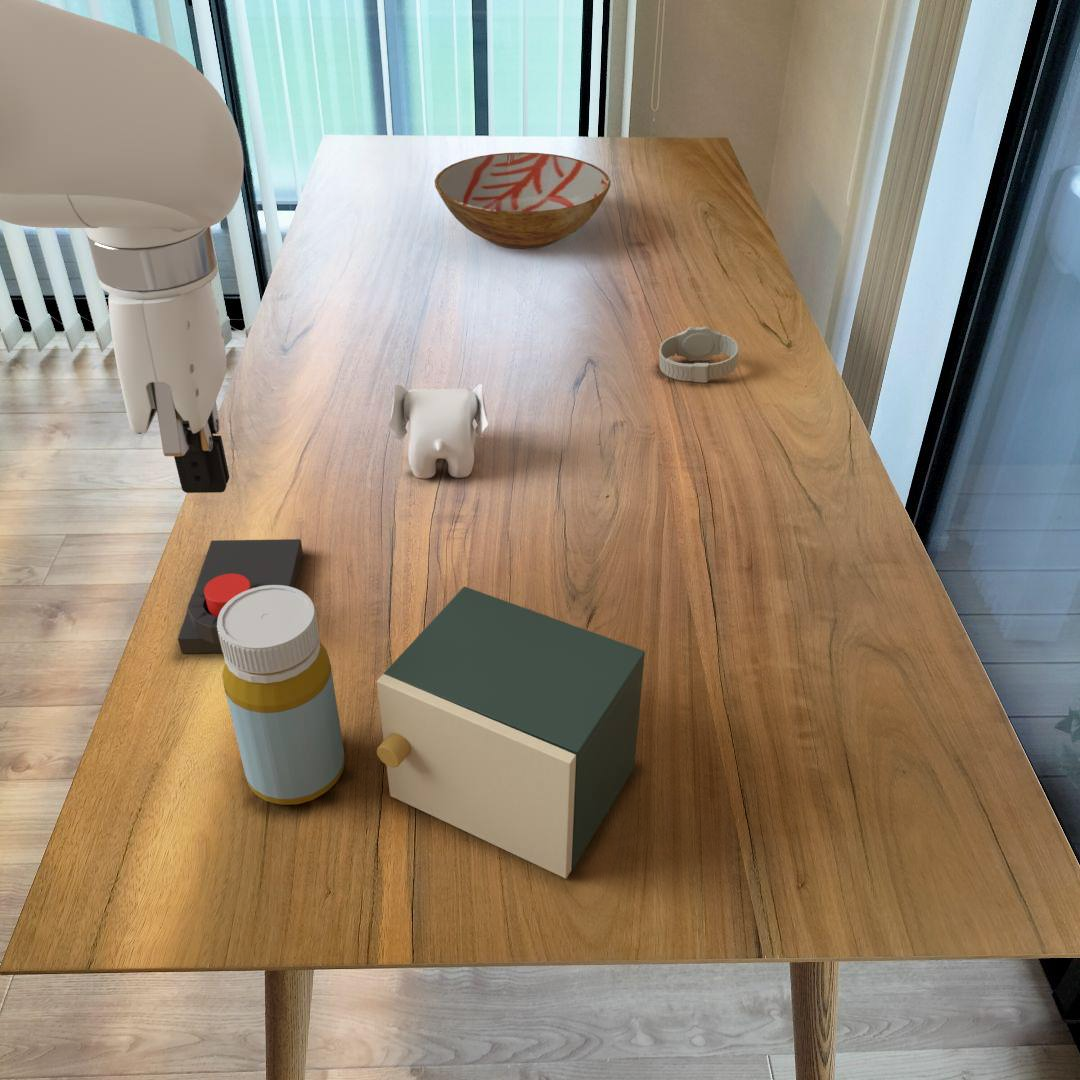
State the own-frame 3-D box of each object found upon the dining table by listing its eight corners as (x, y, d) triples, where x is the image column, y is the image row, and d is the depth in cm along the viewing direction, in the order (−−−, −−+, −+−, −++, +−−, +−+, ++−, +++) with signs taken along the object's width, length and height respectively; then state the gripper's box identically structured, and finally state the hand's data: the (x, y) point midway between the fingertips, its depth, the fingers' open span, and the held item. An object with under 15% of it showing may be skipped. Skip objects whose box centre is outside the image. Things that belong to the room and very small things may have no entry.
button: (249, 618, 86) (245, 601, 85) (203, 619, 86) (199, 602, 85) (256, 589, 89) (253, 573, 88) (212, 590, 89) (209, 573, 88)
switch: (279, 658, 87) (273, 626, 85) (179, 660, 87) (170, 628, 85) (303, 553, 98) (298, 522, 96) (214, 555, 98) (207, 523, 96)
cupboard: (572, 870, 71) (577, 752, 64) (396, 790, 76) (383, 673, 69) (634, 767, 78) (645, 650, 71) (469, 701, 84) (464, 585, 76)
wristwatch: (735, 361, 128) (740, 322, 125) (737, 387, 123) (742, 347, 120) (657, 357, 129) (661, 318, 126) (657, 383, 124) (660, 343, 121)
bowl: (628, 261, 151) (631, 205, 146) (450, 275, 147) (448, 218, 142) (584, 198, 171) (586, 147, 166) (426, 209, 166) (423, 157, 162)
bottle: (314, 721, 82) (287, 566, 73) (364, 777, 77) (342, 620, 68) (230, 766, 78) (190, 609, 69) (277, 827, 74) (241, 669, 65)
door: (555, 895, 69) (559, 779, 63) (377, 810, 75) (362, 694, 68) (571, 870, 71) (576, 754, 64) (396, 788, 76) (383, 673, 69)
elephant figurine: (489, 427, 116) (487, 353, 110) (489, 491, 106) (487, 413, 101) (399, 429, 115) (393, 354, 110) (392, 493, 106) (385, 415, 100)
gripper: (127, 210, 75) (179, 433, 87) (58, 305, 64) (129, 549, 75) (235, 210, 76) (273, 432, 87) (187, 304, 64) (238, 547, 75)
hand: (206, 486), depth 81 cm, fingers closed
